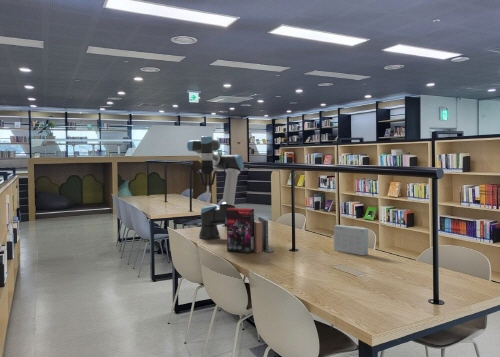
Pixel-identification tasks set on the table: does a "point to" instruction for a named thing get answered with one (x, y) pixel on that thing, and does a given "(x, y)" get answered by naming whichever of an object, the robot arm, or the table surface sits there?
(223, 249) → the table surface
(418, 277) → the table surface
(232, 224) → the graphics card box
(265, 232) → the bookend
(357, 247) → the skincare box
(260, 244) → the book
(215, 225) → the robot arm
